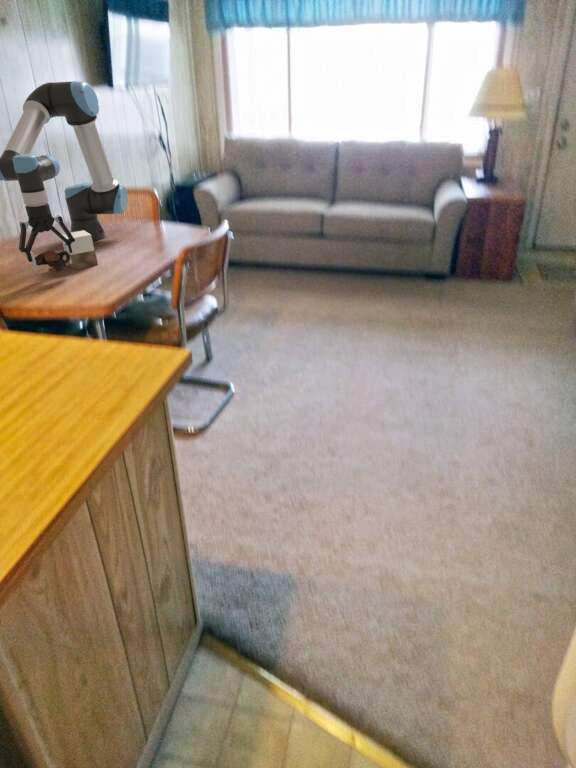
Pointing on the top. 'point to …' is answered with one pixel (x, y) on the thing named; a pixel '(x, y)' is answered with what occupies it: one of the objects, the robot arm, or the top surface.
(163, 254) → the top surface
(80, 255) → the tower base block
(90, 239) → the tower top block
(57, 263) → the pottery mug
